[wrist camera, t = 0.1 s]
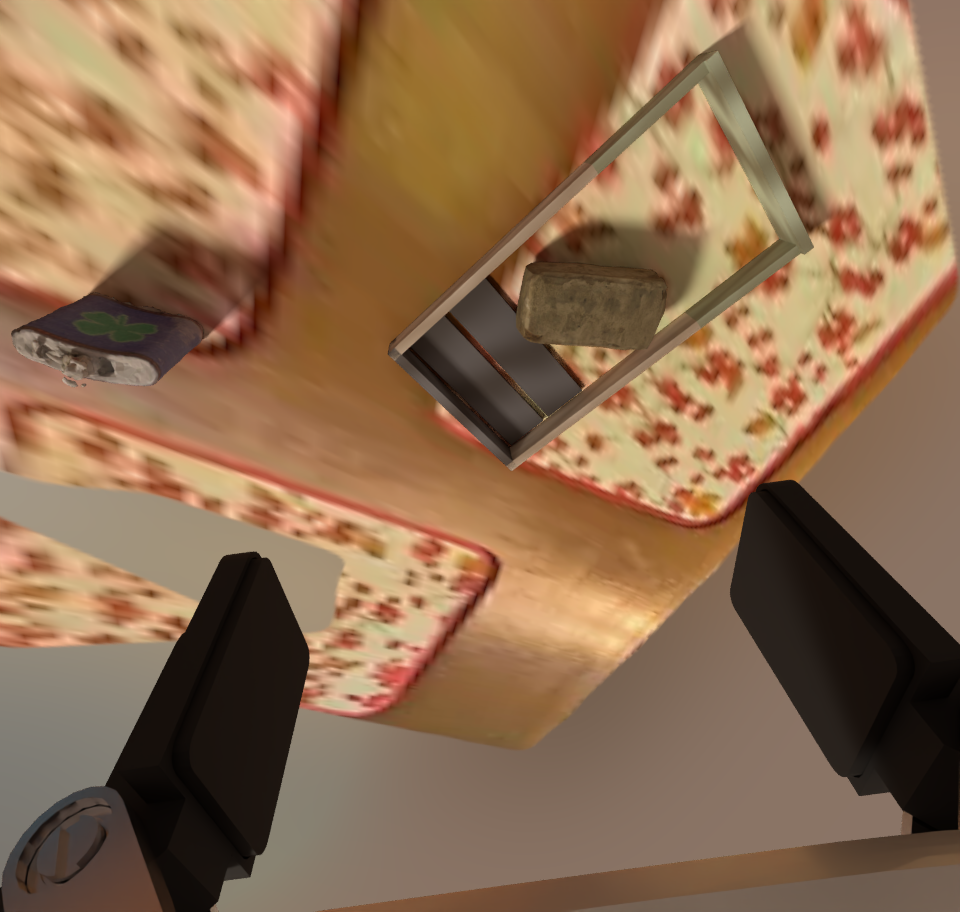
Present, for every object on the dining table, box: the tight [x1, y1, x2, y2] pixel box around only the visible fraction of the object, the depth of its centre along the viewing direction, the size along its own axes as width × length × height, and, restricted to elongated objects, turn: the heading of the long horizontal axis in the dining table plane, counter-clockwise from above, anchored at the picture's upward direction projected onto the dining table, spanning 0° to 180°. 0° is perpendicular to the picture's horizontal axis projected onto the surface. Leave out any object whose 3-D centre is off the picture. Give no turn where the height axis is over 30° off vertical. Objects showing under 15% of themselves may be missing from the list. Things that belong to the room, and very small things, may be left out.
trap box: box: [388, 51, 814, 471], centre depth 44 cm, size 16×31×3 cm, turn 131°
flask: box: [11, 293, 203, 387], centre depth 39 cm, size 9×3×11 cm, turn 72°
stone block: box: [516, 262, 667, 350], centre depth 43 cm, size 6×12×5 cm, turn 86°
